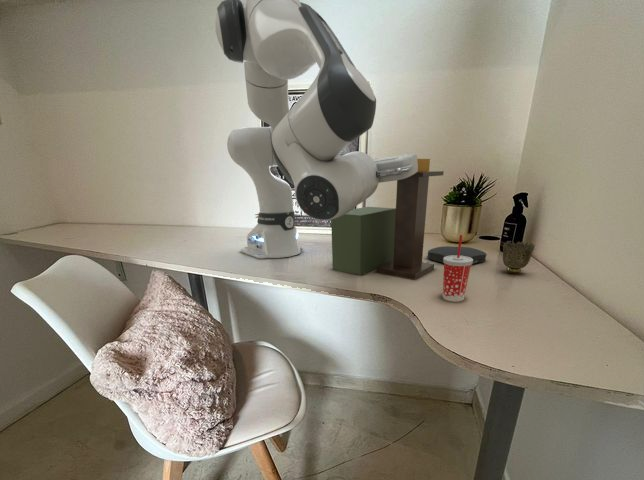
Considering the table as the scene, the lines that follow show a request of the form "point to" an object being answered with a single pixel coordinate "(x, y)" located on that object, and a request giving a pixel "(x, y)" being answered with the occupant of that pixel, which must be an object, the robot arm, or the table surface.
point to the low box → (363, 239)
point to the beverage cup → (456, 275)
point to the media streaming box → (445, 251)
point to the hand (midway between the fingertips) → (377, 165)
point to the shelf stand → (410, 227)
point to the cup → (516, 256)
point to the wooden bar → (423, 165)
